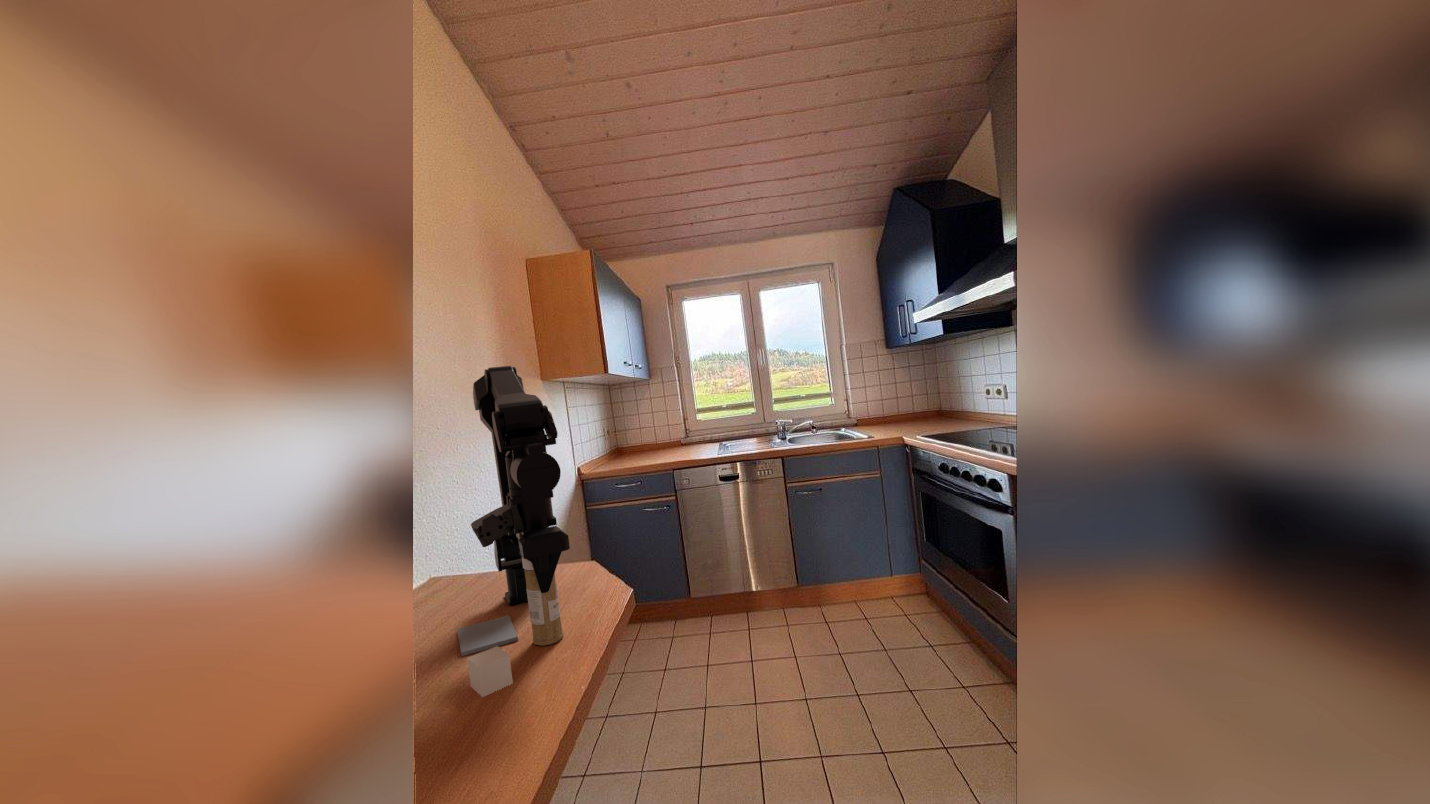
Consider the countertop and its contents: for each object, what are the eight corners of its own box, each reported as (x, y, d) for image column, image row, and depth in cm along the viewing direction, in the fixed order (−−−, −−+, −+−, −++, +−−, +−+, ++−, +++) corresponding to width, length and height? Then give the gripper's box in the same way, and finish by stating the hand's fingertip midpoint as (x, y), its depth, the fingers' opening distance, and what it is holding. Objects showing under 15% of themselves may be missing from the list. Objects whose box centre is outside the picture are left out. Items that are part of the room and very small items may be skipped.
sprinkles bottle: (568, 639, 91) (557, 551, 90) (537, 650, 88) (526, 559, 87) (557, 629, 95) (547, 545, 94) (528, 639, 92) (517, 553, 91)
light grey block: (471, 687, 80) (467, 657, 79) (501, 674, 82) (497, 646, 82) (482, 697, 76) (478, 667, 76) (513, 684, 79) (509, 654, 79)
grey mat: (457, 632, 98) (457, 628, 98) (509, 618, 101) (508, 615, 101) (461, 656, 89) (461, 652, 89) (518, 640, 92) (517, 636, 92)
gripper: (466, 486, 95) (479, 583, 96) (476, 506, 78) (492, 624, 79) (539, 474, 100) (550, 566, 101) (563, 490, 83) (577, 601, 84)
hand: (542, 587), depth 91 cm, fingers closed on sprinkles bottle, 4 cm apart
